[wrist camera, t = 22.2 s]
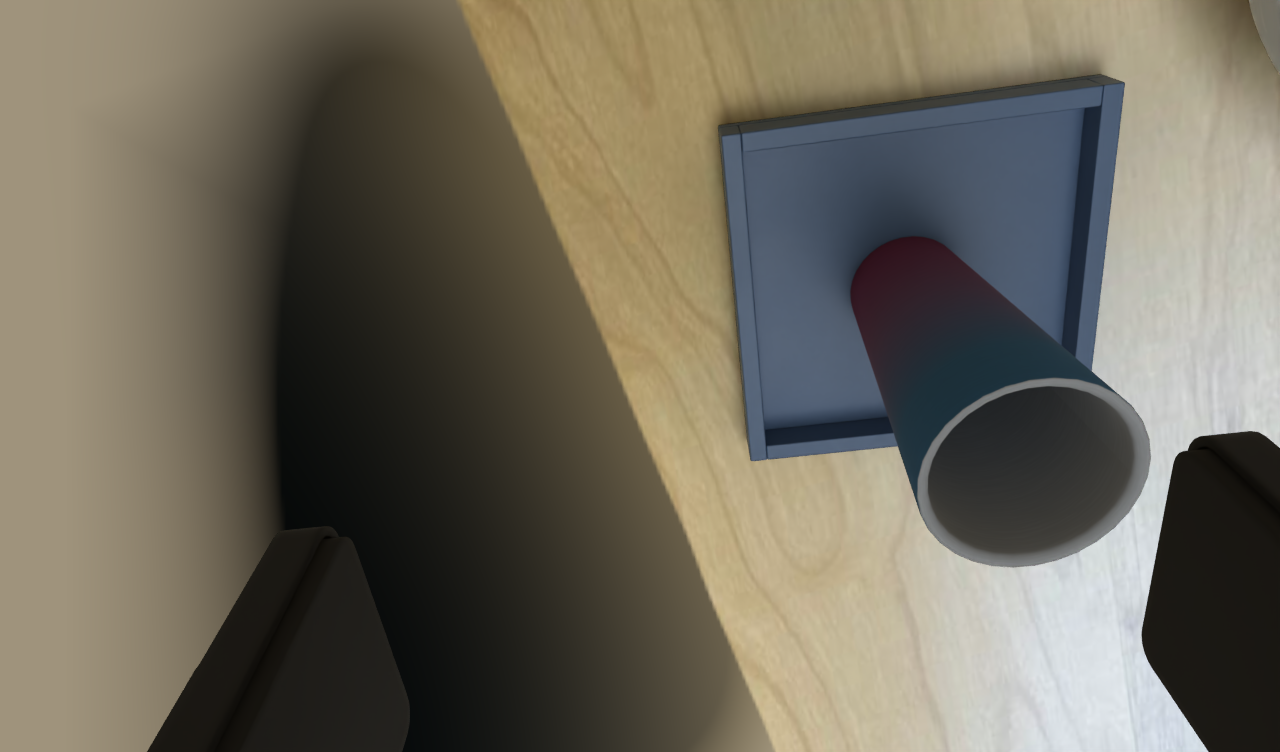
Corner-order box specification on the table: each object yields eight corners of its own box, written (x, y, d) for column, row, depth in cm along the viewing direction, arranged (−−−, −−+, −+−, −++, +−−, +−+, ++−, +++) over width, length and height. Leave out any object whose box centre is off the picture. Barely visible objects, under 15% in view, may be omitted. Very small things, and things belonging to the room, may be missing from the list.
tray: (746, 439, 44) (750, 462, 42) (717, 125, 37) (720, 135, 35) (1067, 406, 43) (1085, 427, 41) (1102, 73, 36) (1125, 82, 34)
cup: (824, 358, 41) (904, 569, 28) (835, 217, 38) (932, 380, 25) (971, 355, 41) (1122, 566, 28) (994, 213, 38) (1177, 375, 25)
